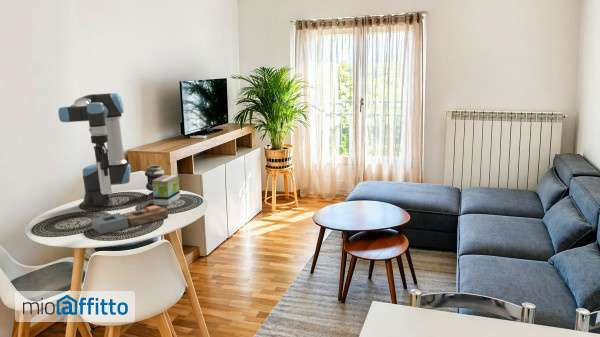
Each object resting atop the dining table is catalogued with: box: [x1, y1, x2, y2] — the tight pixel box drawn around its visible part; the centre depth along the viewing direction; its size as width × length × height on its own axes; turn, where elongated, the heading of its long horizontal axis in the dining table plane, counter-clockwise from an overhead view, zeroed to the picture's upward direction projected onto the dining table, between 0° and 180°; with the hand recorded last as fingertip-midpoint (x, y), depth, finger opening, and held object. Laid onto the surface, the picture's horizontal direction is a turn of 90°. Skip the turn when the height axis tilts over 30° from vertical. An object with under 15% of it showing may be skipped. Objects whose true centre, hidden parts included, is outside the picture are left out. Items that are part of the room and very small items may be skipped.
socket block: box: [122, 205, 169, 227], centre depth 256 cm, size 12×20×4 cm, turn 130°
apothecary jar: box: [144, 164, 165, 197], centre depth 302 cm, size 12×12×18 cm
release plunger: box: [145, 204, 159, 213], centre depth 258 cm, size 5×5×5 cm
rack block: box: [91, 212, 129, 235], centre depth 244 cm, size 12×14×5 cm
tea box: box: [152, 174, 181, 206], centre depth 286 cm, size 15×10×15 cm, turn 168°
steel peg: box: [97, 161, 113, 195], centre depth 239 cm, size 4×4×16 cm
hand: (104, 181), depth 239 cm, fingers closed on steel peg, 4 cm apart
